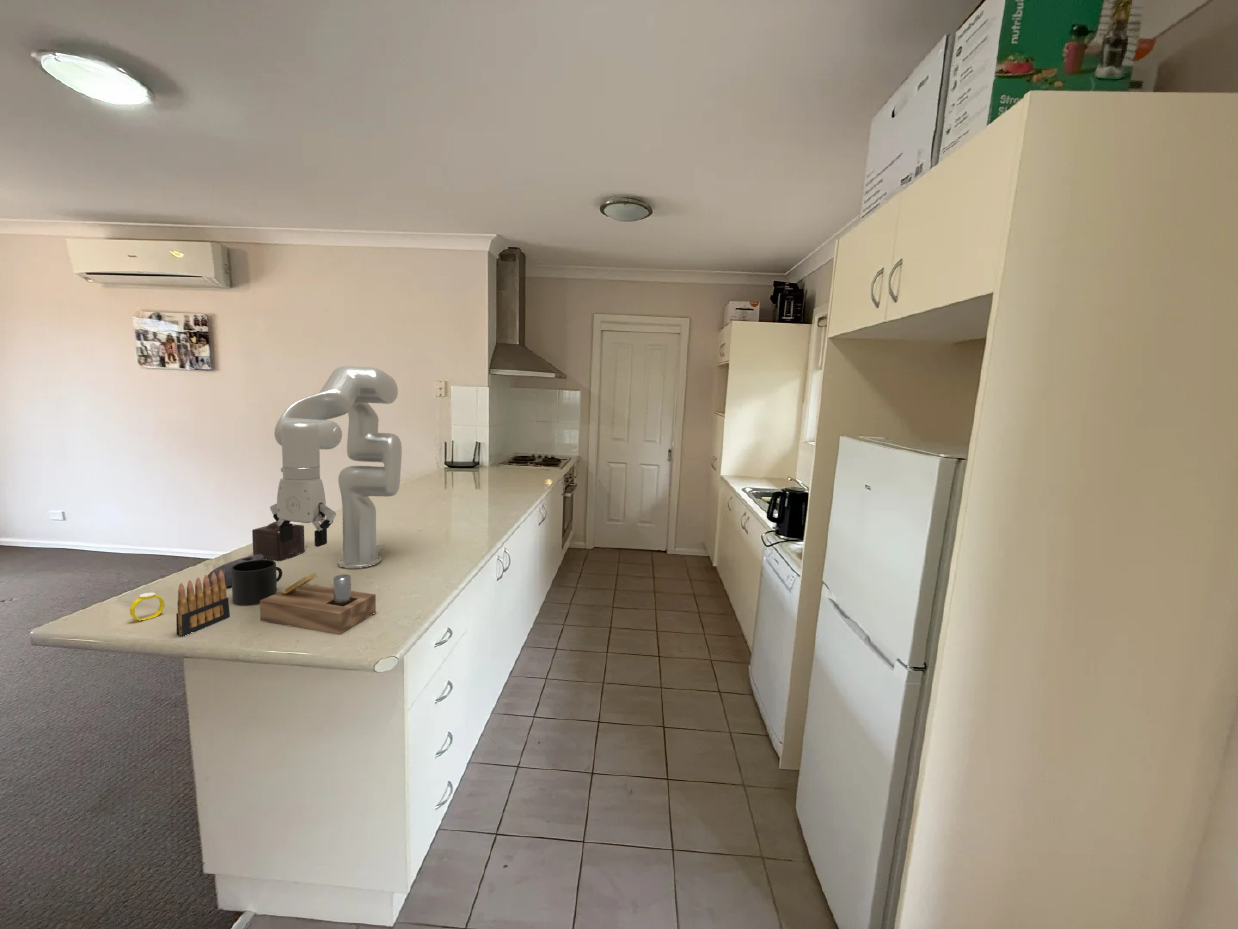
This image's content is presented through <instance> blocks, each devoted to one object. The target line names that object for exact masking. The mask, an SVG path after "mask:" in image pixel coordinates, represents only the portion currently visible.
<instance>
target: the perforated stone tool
mask: <svg viewBox="0 0 1238 929" xmlns="http://www.w3.org/2000/svg"><path fill="white" fill-rule="evenodd" d="M252 560H265V559H264V556H263V555H262V554H258V555H254V556H253V555H249V556H246V557H241V558H238V559H235V560H232V561H230V562H227V563H224V564H222V565H219V566H218V567H216V568H214V569H212V570H211V571H210V572H209V573H208V575H207V576H208V579H209V582H210V588H211V576H212V573H213V572H214V573H215V575H216V577H217V584H218V576H219V572H220V570H222V571H223V574H224V578H225V585H226V588H228V587H232V576H231V568H232V567H233V566H234V565H236V564H239V563H242V562H246V561H252Z"/></svg>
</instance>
